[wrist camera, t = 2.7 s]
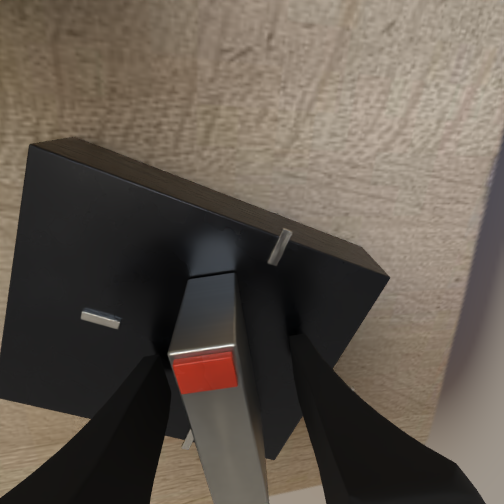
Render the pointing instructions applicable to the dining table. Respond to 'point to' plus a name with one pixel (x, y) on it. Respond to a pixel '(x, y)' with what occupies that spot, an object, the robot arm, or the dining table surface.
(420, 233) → the dining table surface
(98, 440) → the robot arm
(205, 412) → the red-topped metal block
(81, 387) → the switch base
